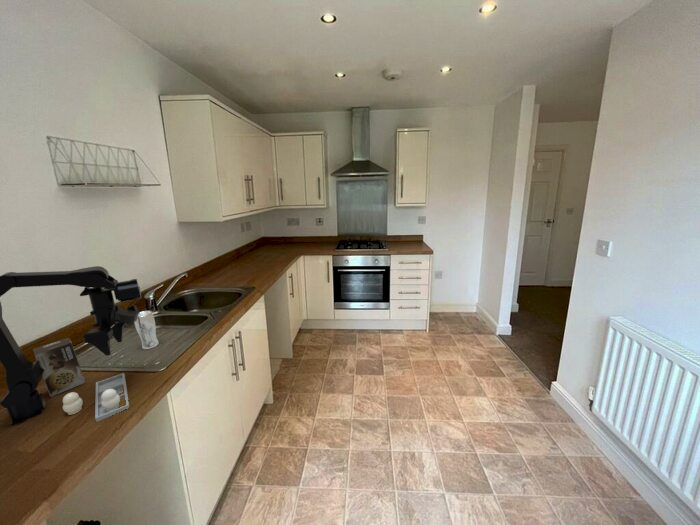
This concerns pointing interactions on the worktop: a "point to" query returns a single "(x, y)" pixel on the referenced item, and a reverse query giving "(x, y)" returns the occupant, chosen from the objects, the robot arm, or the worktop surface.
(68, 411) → the cream stacked ball figurine
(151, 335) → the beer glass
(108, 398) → the white drawer knob
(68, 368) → the coffee box
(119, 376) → the gray divided compartment tray
